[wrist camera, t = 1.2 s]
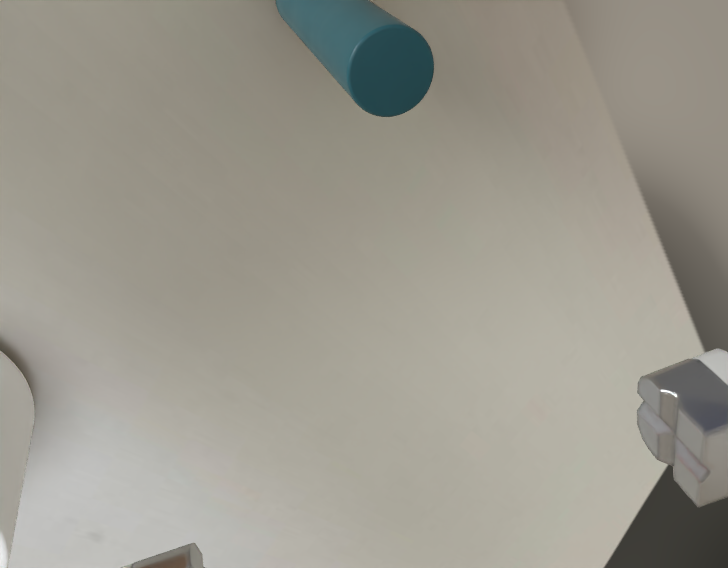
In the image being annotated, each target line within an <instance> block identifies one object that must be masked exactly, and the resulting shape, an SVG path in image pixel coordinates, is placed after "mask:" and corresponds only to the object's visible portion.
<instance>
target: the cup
mask: <svg viewBox="0 0 728 568" xmlns="http://www.w3.org/2000/svg"><path fill="white" fill-rule="evenodd" d="M34 419H35V408H34V401H33V396H32V393H31V390H30V387H29V385H28V383H27V381H26V379H25V377H24V376H23V374H22V373H21V371H20V370H19V369H18V367H17V366H16V365H15V364H14V363H13V362H12V361H11V360H10V359H9V358H8V357H7V356H6V355H5V354H4V353H3V352H1V351H0V568H8V563H9V558H10V552H11V547H12V541H13V536H14V530H15V525H16V520H17V514H18V509H19V503H20V498H21V492H22V487H23V481H24V476H25V471H26V465H27V460H28V454H29V449H30V443H31V438H32V432H33V427H34Z"/></svg>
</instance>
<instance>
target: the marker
mask: <svg viewBox="0 0 728 568" xmlns="http://www.w3.org/2000/svg"><path fill="white" fill-rule="evenodd" d="M276 5H277V9H278V12H279V14H280V15H281V17H282V18H283V20H284V21H285V22H286V23H287V24H288V25H289V26H290V28H291V29H292V30H293V31H294V32H295V33H296V35H297V36H298V37H299V38H300V39H301V40H302V41H303V43H304V44H305V45H306V46H307V47H308V48H309V49H310V51H311V52H312V53H313V54H314V55H315V56H316V57H317V59H318V60H319V61H320V62H321V63H322V64H323V66H324V67H325V68H326V69H327V70H328V71H329V72H330V74H331V75H332V76H333V77H334V78H335V79H336V80H337V82H338V83H339V84H340V85H341V86H342V87H343V88H344V90H345V91H346V92H347V93H348V94H349V95H350V96H351V98H352V99H353V100H354V101H355V102H356V103H357V105H358V106H359V107H361V108H362V109H363V110H365V111H366V112H368V113H370V114H372V115H376V116H381V117H392V116H397V115H400V114H403V113H405V112H407V111H409V110H411V109H412V108H413V107H415V106H416V105H417V104H418V103H419V102H420V101H421V100H422V99H423V97H424V96H425V94H426V93H427V91H428V89H429V87H430V84H431V82H432V78H433V72H434V61H433V55H432V52H431V49H430V47H429V45H428V43H427V41H426V40H425V39H424V37H423V36H422V35H421V34H420V33H418V32H417V31H416V30H414V29H413V28H411V27H410V26H408V25H406V24H405V23H403V22H402V21H400V20H399V19H397V18H395V17H394V16H392V15H391V14H389V13H388V12H386V11H384V10H383V9H381V8H380V7H378V6H377V5H375V4H374V3H372V2H370V1H369V0H276Z"/></svg>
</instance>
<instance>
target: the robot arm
mask: <svg viewBox="0 0 728 568" xmlns="http://www.w3.org/2000/svg"><path fill="white" fill-rule="evenodd" d="M637 393H638V394H639V395H640V397H641V398H642V399H643V400H644V401H643V403H642V404H641V406H640V407H639V408H638V410H637V425H638V428H639V430H640V433H641V436H642V439H643V441H644V442H645V444H646V446H647V447H648V449H649V450H650V451H651V453H652V454H653V455H654V456H655V457H656V459H657V460H659V461H661V462H664V463H667V464H669V465H672V466H673V469H674V470H673V472H674V473H673V474H674V480H675V481H676V482H677V483H678V485H679V486H680V487H681V488H682V489H683V490H684V491H685V493H686V494H687V495H688V496H689V497H690V498H691V500H692V501H693V502H694V503H695V504H696V505H697V506H698V507H701V506H704V505H706V504H709V503H712V502H715V501H718V500H720V499H723V498H726V497H728V353H727V352H726V351H724V350H721V349H719V348H718V349H715V350H712V351H710V352H707V353H704V354H701V355H699V356H696V357H693V358H691V359H686V360H684V361H681V362H679V363H676V364H673V365H671V366H668V367H666V368H663V369H660V370H658V371H655V372H653V373H650V374H647V375H645V376H642V377H641V378H640V380H639V382H638V390H637ZM121 568H205V567H203V558H202V553H201V552H200V550H199V549H198V547H197V545H196V544H195V543H191V544H188V545H185V546H182V547H179V548H176V549H173V550H170V551H167V552H164V553H161V554H159V555H156V556H153V557H150V558H147V559H144V560H141V561H138V562H135V563H133V564H130V565H127V566H124V567H121Z"/></svg>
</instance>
